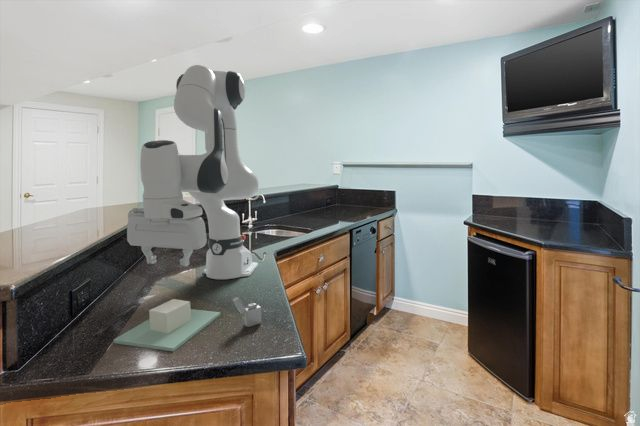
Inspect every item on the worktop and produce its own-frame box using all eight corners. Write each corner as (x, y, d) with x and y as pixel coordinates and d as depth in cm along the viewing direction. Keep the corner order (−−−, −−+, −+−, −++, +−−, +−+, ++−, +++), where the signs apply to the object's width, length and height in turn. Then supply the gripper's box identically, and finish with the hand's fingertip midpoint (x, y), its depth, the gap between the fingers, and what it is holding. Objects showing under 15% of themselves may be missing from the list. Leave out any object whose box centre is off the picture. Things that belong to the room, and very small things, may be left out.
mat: (169, 309, 103) (169, 306, 103) (220, 315, 99) (220, 312, 99) (113, 343, 84) (113, 339, 84) (173, 351, 80) (173, 348, 80)
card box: (150, 329, 89) (149, 310, 88) (174, 317, 96) (173, 298, 95) (168, 333, 87) (166, 313, 86) (191, 320, 94) (190, 301, 93)
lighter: (258, 320, 95) (257, 291, 94) (261, 322, 94) (260, 293, 93) (233, 328, 91) (232, 297, 90) (236, 330, 90) (235, 299, 89)
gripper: (117, 209, 87) (123, 265, 89) (193, 212, 82) (196, 271, 84) (137, 206, 93) (141, 258, 95) (208, 208, 88) (211, 263, 90)
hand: (168, 264), depth 89 cm, fingers open, 8 cm apart
